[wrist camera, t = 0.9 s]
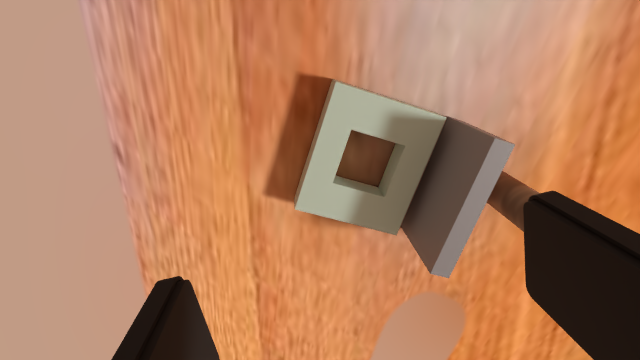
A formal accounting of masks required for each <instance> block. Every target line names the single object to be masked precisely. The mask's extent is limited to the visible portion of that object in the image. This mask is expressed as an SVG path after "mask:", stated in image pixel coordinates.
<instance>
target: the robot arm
mask: <svg viewBox="0 0 640 360" xmlns="http://www.w3.org/2000/svg"><path fill="white" fill-rule="evenodd" d="M523 216H524V245H525V275H526V288H527V291H528V293H529V295H530V296H531V297H532V299H533V300H534V301H535V302H536V303H537V304H538V305H539V306H540V307H541V308H542V309H543V310H544V311H545V312H546V313H547V314H548V315H549V316H550V317H551V318H552V319H553V320H554V321H555V322H556V323H557V324H558V325H559V326H560V327H561V328H562V329H563V330H564V331H565V332H566V333H567V334H568V335H569V336H570V337H571V338H572V339H573V340H574V341H576V342H577V343H578V344H579V345H580V346H581V347H582V348H583V349H584V350H585V351H586V352H587V353H588V354H589V355H590V356H591V357H592V358H593V359H594V360H640V234H638V233H636V232H634V231H632V230H630V229H628V228H627V227H625V226H623V225H621V224H619V223H617V222H615V221H613V220H611V219H609V218H607V217H605V216H603V215H601V214H599V213H597V212H595V211H593V210H591V209H589V208H587V207H585V206H583V205H581V204H579V203H577V202H575V201H574V200H572V199H570V198H568V197H566V196H564V195H562V194H560V193H558V192H556V191H549V192H545V193H540V194H536V195H532V196H530V197H529V199H528V202H525V203H524V206H523ZM112 360H220V359H219V355H218V352H217V350H216V347H215V345H214V342H213V339H212V337H211V334H210V331H209V329H208V326H207V324H206V321H205V318H204V316H203V313H202V311H201V308H200V305H199V303H198V300H197V298H196V295H195V292H194V290H193V287H192V285H191V282H190V281H189V280H183V278H182V277H180V276H177V277H173V278H169V279H164V280H160V281H158V282H157V283H156V284H155V286H154V288H153V289H152V291H151V293H150V294H149V296H148V298H147V300H146V301H145V303H144V305H143V307H142V308H141V310H140V312H139V313H138V315H137V317H136V319H135V320H134V322H133V324H132V325H131V327H130V329H129V331H128V332H127V334H126V336H125V337H124V339H123V341H122V343H121V344H120V346H119V348H118V349H117V351H116V353H115V355H114V356H113V358H112Z"/></svg>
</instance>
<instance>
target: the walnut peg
mask: <svg viewBox="0 0 640 360" xmlns="http://www.w3.org/2000/svg"><path fill="white" fill-rule="evenodd" d="M536 194H540V193H539V192H537V191H535V190H534V189H532V188H530V187H528V186H527V185H525V184H523V183H522V182H520V181H518V180H517V179H515V178H513V177H512V176H510V175H508V174H507V173H505V172H503V171H502V172H501V174H500V176H499V178H498V180H497V182H496V184H495V186H494V188H493V190H492V192H491V194H490V196H489V198H488V200H487V203H488V204H490V205H491V206H492V207H493V208H495V209H496V210H497V211H498V212H500V213H501V214H502V215H503V216H505V217H506V218H507V219H508V220H510V221H511V222H512V223H513V224H515V225H516V226H517V227H518V228H520V229H521V230H522V231H523V232H524V216H523V206H524V203H525V202H528V199H529V197H530V196H532V195H536Z"/></svg>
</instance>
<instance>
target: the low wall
mask: <svg viewBox="0 0 640 360" xmlns="http://www.w3.org/2000/svg"><path fill="white" fill-rule="evenodd" d="M514 146H515V144H513V143H510V142H508V141H506V140H504V139H501V138H499V137H497V136H495V135H493V134H490V133H488V132H486V131H484V130H481V129H479V128H477V127H475V126H472V125H470V124H468V123H466V122H463V121H460V120H457V119H454V118H451V117H447V120H446V122H445V124H444V127H443V129H442V131H441V134H440V136H439V138H438V141H437V143H436V145H435V148H434V150H433V152H432V155H431V157H430V159H429V162H428V164H427V166H426V169H425V171H424V173H423V176H422V178H421V180H420V183H419V185H418V187H417V190H416V192H415V194H414V197H413V199H412V201H411V204H410V206H409V208H408V211H407V213H406V215H405V218H404V220H403V222H402V225H401V227H402V229H403V231H404V232H405V234H406V235H407V237H408V239H409V240H410V242H411V243H412V245H413V247H414V248H415V250H416V251H417V253H418V255H419V256H420V258H421V259H422V261H423V263H424V264H425V266H426V267H427V269H428V271H429V272H430V274H434V275H438V276H442V277H446V278H449V277H450V275H451V273H452V271H453V269H454V267H455V265H456V263H457V261H458V259H459V257H460V255H461V253H462V251H463V249H464V247H465V244H466V242H467V240H468V238H469V236H470V234H471V232H472V230H473V228H474V226H475V224H476V222H477V220H478V218H479V216H480V214H481V212H482V210H483V208H484V206H485V204H486V202H487V200H488V198H489V196H490V194H491V192H492V190H493V188H494V186H495V184H496V182H497V180H498V178H499V176H500V174H501V172H502V170H503V168H504V166H505V164H506V162H507V160H508V158H509V156H510V154H511V152H512V150H513V148H514Z"/></svg>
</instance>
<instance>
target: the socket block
mask: <svg viewBox="0 0 640 360" xmlns="http://www.w3.org/2000/svg"><path fill="white" fill-rule="evenodd" d="M445 120H446V117H444V116H442V115H440V114H438V113H436V112H433V111H429V110H426V109H423V108H420V107H417V106H414V105H411V104H408V103H405V102H402V101H399V100H396V99H393V98H390V97H387V96H384V95H381V94H377V93H374V92H371V91H368V90H365V89H362V88H359V87H356V86H353V85H350V84H347V83H344V82H341V81H338V80H335V79H332V82H331V85H330V88H329V91H328V94H327V97H326V101H325V104H324V107H323V110H322V113H321V116H320V119H319V122H318V126H317V129H316V132H315V135H314V138H313V141H312V144H311V148H310V151H309V154H308V157H307V160H306V163H305V166H304V169H303V173H302V176H301V179H300V182H299V185H298V188H297V191H296V194H295V198H294V204H295V210H299V211H303V212H307V213H311V214H315V215H319V216H323V217H327V218H331V219H335V220H338V221H342V222H346V223H350V224H354V225H358V226H362V227H366V228H370V229H374V230H378V231H382V232H386V233H389V234H393V235H397V233H398V230H399V228H400V226H401V223H402V221H403V219H404V216H405V214H406V212H407V209H408V207H409V205H410V202H411V200H412V198H413V195H414V193H415V191H416V188H417V186H418V183H419V181H420V179H421V176H422V174H423V172H424V169H425V167H426V165H427V162H428V160H429V158H430V155H431V153H432V151H433V148H434V146H435V144H436V141H437V139H438V137H439V134H440V132H441V130H442V127H443V125H444V123H445ZM351 130H354V131H358V132H361V133H364V134H367V135H371V136H374V137H377V138H381V139H384V140H387V141H391V142H394V143H396V144H395V146H394V149H393V151H392V154H391V156H390V159H389V162H388V164H387V167H386V169H385V172H384V174H383V177H382V179H381V182H380V184H379V187H375V186H372V185H368V184H365V183H361V182H357V181H354V180H350V179H347V178H343V177H339V176H336V172H337V169H338V167H339V164H340V161H341V158H342V155H343V152H344V149H345V147H346V144H347V141H348V138H349V135H350V132H351Z"/></svg>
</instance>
